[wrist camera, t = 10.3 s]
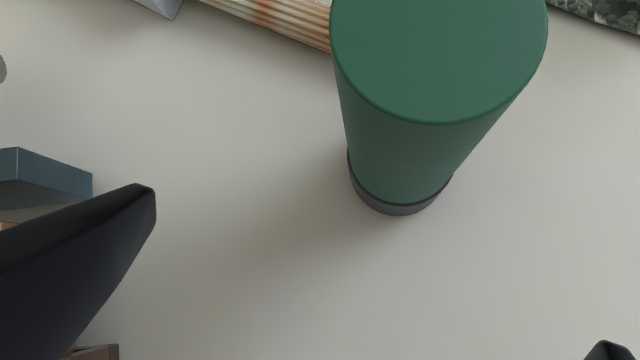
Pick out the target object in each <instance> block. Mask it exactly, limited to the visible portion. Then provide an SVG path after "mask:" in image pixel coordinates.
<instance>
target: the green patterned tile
mask: <svg viewBox="0 0 640 360" xmlns="http://www.w3.org/2000/svg"><path fill="white" fill-rule="evenodd" d="M545 2H547V3H550V4H552V5H554V6H557V7H559V8H561V9H564V10H566V11H569V12H571V13H574V14H577V15H579V16H582V17H585V18H587V19H590V20H592V21H595V22H598V23H601V24H604V25H607V26H611V27H614V28H617V29H621V30H624V31H627V32H631V33H634V34H637V35H640V0H545Z"/></svg>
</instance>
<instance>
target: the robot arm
mask: <svg viewBox="0 0 640 360" xmlns="http://www.w3.org/2000/svg"><path fill="white" fill-rule="evenodd" d="M155 223H156V200H155V192H154V190H153V189H152V188H150V187H147V186H144V185H141V184H138V183H133V184H130V185H127V186H124V187H121V188H119V189H116V190H113V191H110V192H107V193H105V194H102V195H99V196H96V197H93V198H90V199H88V200H85V201H82V202H79V203H76V204H74V205H71V206H68V207H65V208H62V209H60V210H57V211H54V212H51V213H48V214H46V215H43V216H40V217H37V218H34V219H32V220H29V221H26V222H23V223H20V224H18V225H15V226H12V227H9V228H6V229H4V230H1V231H0V360H61V359H62V357H63V356H64V355H65V353H66V352H67V351H68V350H69V348H70V347H71V346H72V344H73V343H74V342H75V341H76V339H77V338H78V337H79V335H80V334H81V333H82V332H83V330H84V329H85V328H86V327H87V325H88V324H89V323H90V321H91V320H92V319H93V318H94V316H95V315H96V314H97V312H98V311H99V310H100V309H101V307H102V306H103V305H104V303H105V302H106V301H107V300H108V298H109V297H110V296H111V294H112V293H113V292H114V290H115V289H116V288H117V286H118V285H119V283H120V282H121V280H122V279H123V277H124V275H125V274H126V272H127V271H128V269H129V267H130V266H131V264H132V262H133V261H134V259H135V258H136V256H137V254H138V253H139V251H140V249H141V248H142V246H143V245H144V243H145V241H146V240H147V238H148V237H149V235H150V233H151V232H152V230H153V228H154V226H155ZM584 360H636V359H635V358H634V356H633V355H632V354H631V352H630V351H629V350H628V349H627V348H626V347H624V346H622V345H619V344H616V343H613V342H610V341H607V340H601V341H599V342H598V343H597V344H596V345H595V346H594V347H593V349H592V350H591V351H590V352H589V354H588V355H587V356H586V357H585V358H584Z"/></svg>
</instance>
